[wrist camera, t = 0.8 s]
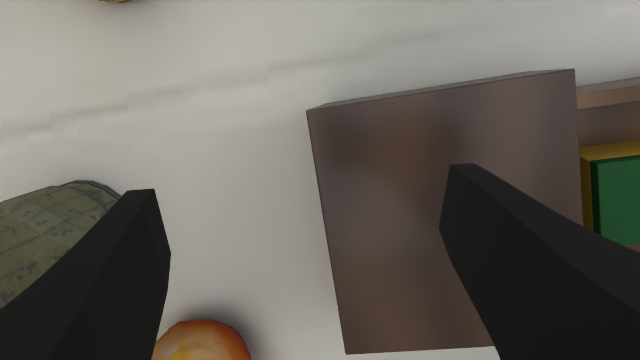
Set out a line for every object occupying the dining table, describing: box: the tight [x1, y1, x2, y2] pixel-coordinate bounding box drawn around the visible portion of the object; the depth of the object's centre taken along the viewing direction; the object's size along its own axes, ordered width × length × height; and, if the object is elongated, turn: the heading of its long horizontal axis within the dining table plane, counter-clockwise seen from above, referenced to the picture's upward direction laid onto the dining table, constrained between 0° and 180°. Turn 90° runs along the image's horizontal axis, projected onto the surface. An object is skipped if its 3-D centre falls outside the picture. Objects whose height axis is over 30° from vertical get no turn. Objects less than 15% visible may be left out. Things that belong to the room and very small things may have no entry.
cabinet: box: [306, 69, 583, 355], centre depth 28 cm, size 13×14×8 cm
